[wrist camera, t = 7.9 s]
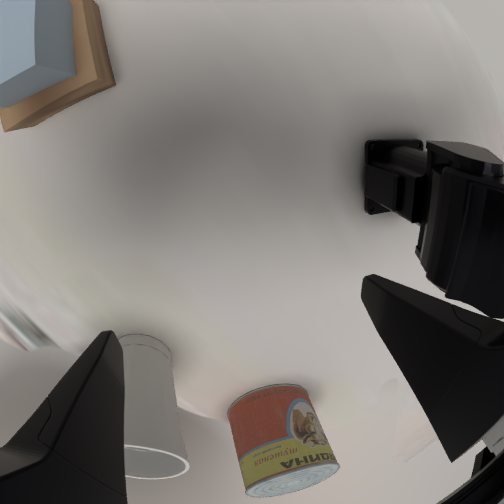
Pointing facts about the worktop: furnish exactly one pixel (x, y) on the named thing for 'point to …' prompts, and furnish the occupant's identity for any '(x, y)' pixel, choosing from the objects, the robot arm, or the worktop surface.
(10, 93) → the cube
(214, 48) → the worktop surface
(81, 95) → the walnut block
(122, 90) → the worktop surface
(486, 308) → the robot arm
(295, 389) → the canned food
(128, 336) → the cup
